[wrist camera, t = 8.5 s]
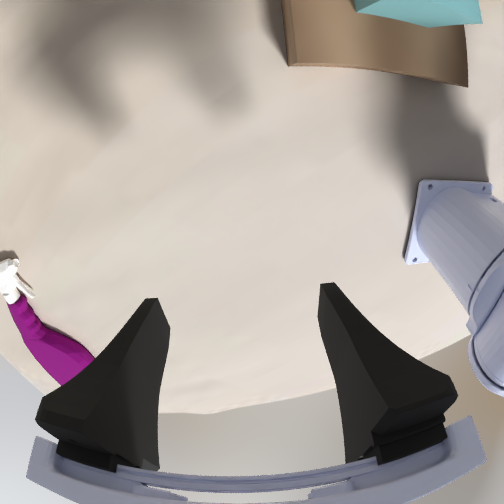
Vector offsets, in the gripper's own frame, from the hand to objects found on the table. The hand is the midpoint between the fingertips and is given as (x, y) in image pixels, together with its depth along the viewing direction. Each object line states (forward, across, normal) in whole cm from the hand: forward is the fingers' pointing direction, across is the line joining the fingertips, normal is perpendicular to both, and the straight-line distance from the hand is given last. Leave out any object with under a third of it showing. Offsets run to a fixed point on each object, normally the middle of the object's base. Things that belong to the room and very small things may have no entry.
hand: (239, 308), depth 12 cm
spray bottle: (+10, +27, +14) cm, 31 cm away
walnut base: (+9, -10, -16) cm, 21 cm away
